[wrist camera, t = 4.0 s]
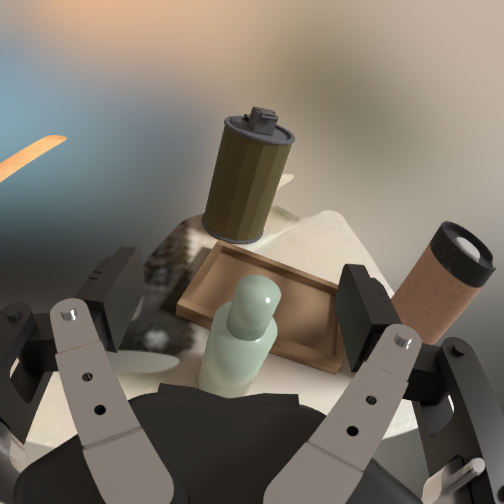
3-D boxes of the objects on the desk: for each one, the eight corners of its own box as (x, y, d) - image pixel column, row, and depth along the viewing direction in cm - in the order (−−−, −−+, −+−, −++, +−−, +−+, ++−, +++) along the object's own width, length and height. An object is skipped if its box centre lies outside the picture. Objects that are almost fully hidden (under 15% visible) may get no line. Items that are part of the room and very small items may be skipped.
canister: (270, 246, 52) (313, 129, 40) (207, 243, 48) (238, 114, 36) (253, 208, 60) (284, 107, 48) (197, 204, 56) (222, 95, 44)
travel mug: (343, 342, 39) (427, 215, 27) (385, 336, 42) (466, 224, 30) (366, 391, 34) (475, 269, 22) (408, 379, 36) (507, 270, 25)
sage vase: (190, 393, 29) (212, 301, 21) (207, 354, 33) (235, 256, 25) (239, 411, 29) (287, 329, 20) (253, 372, 33) (298, 280, 25)
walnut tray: (175, 314, 36) (176, 303, 35) (216, 249, 47) (218, 239, 46) (334, 374, 35) (342, 365, 34) (341, 297, 46) (347, 288, 45)
